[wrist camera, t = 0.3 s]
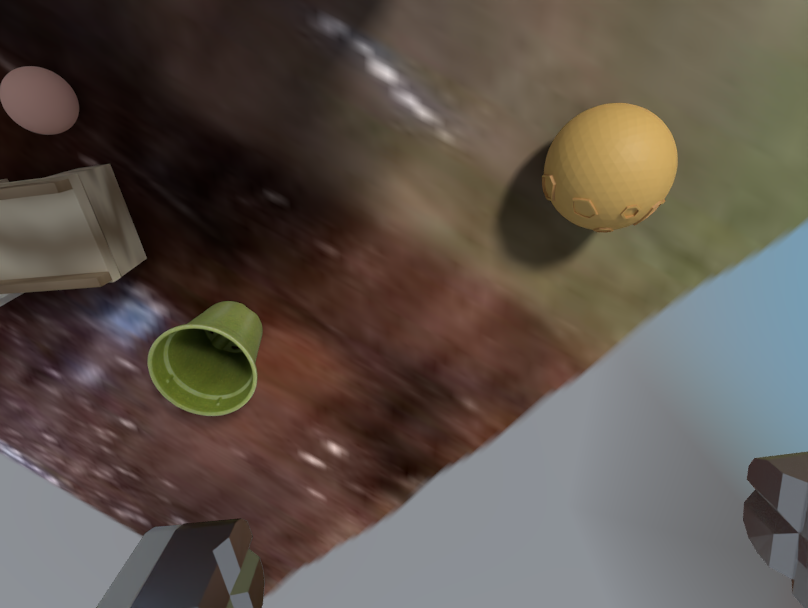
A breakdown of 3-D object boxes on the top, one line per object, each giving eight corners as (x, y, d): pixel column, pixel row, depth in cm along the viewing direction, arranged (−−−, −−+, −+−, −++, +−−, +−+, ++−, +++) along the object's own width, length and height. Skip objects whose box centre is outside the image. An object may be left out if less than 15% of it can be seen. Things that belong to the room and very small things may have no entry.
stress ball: (567, 90, 41) (505, 150, 37) (692, 68, 34) (632, 140, 30) (590, 189, 47) (538, 251, 42) (702, 188, 39) (652, 263, 35)
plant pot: (200, 368, 51) (165, 419, 43) (175, 288, 47) (132, 330, 39) (285, 361, 51) (266, 412, 43) (268, 281, 47) (243, 321, 39)
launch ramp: (-23, 182, 42) (-100, 202, 36) (111, 163, 42) (57, 178, 35) (24, 275, 46) (-37, 307, 40) (148, 258, 46) (106, 288, 39)
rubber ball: (18, 71, 39) (-32, 70, 34) (76, 62, 39) (34, 60, 34) (45, 135, 41) (2, 142, 36) (101, 127, 41) (65, 132, 36)
